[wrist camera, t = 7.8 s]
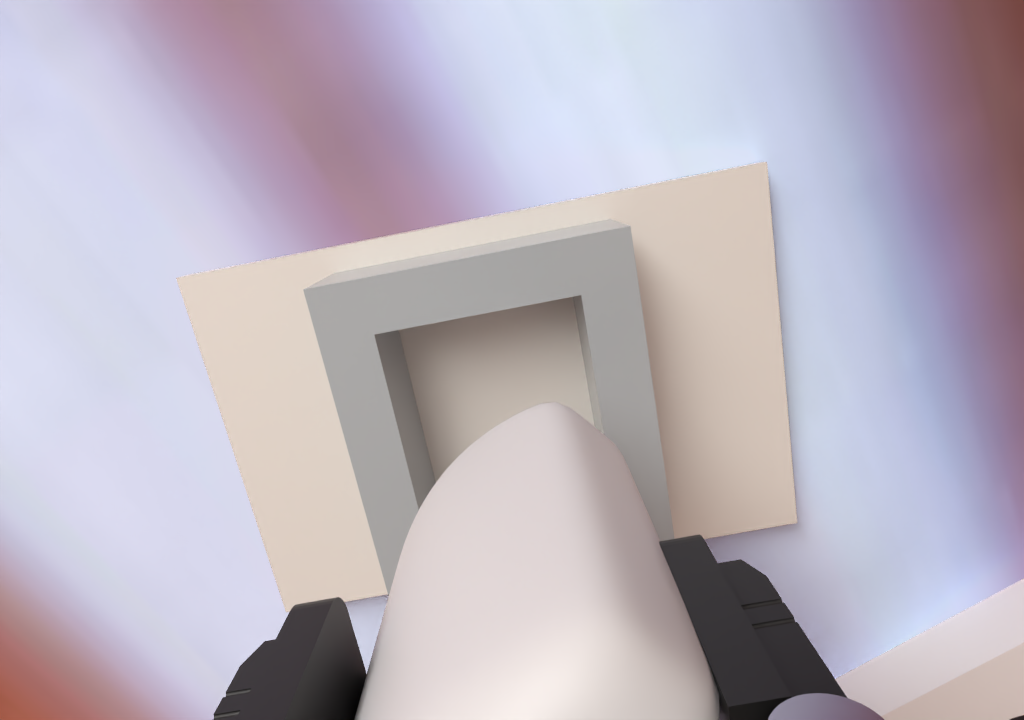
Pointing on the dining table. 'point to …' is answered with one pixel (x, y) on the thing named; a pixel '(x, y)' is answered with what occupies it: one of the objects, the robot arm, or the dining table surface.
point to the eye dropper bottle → (536, 591)
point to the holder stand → (503, 366)
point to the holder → (951, 667)
